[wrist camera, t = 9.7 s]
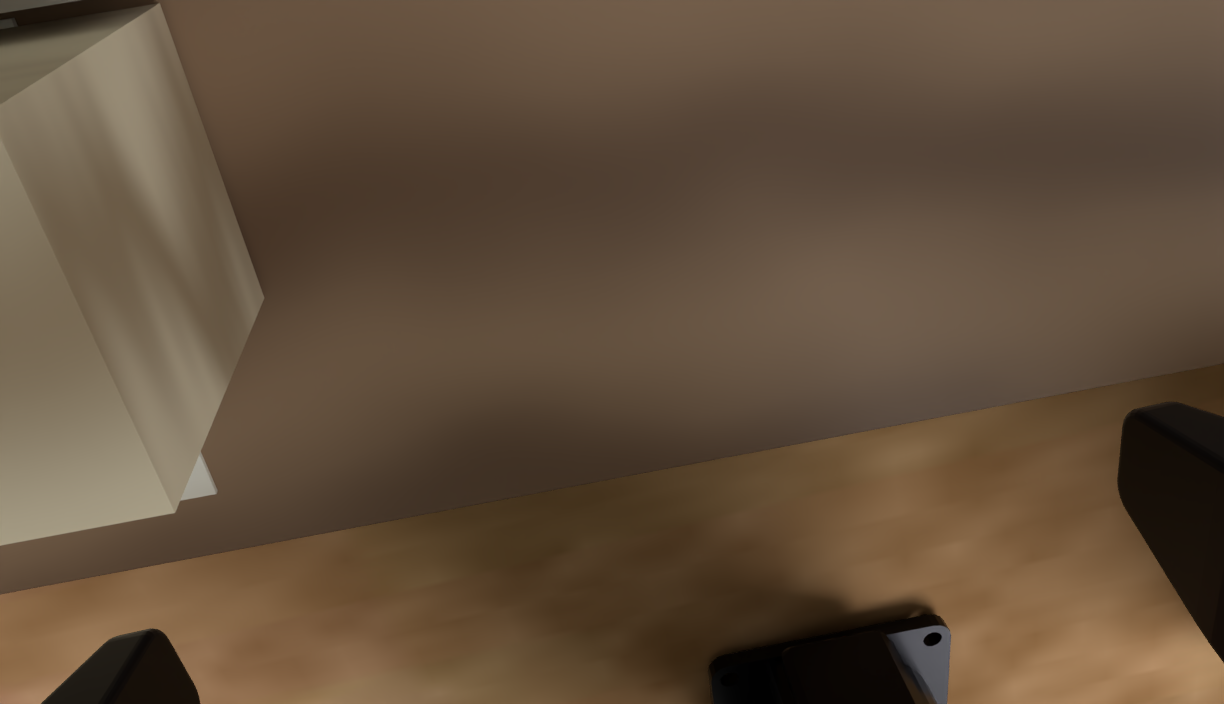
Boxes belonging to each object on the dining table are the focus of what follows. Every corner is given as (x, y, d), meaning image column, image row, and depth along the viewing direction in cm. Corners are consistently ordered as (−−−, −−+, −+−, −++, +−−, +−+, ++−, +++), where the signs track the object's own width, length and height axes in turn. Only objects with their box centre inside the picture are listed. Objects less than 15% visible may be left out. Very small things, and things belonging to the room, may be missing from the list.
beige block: (300, 401, 18) (234, 639, 13) (31, 451, 18) (-147, 714, 13) (159, 2, 15) (-12, 111, 9) (-181, 58, 14) (-549, 201, 9)
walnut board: (1236, 307, 22) (1376, 398, 19) (13, 535, 21) (-75, 676, 18) (1369, -315, 16) (1609, -348, 13) (-324, -49, 15) (-558, -6, 12)
